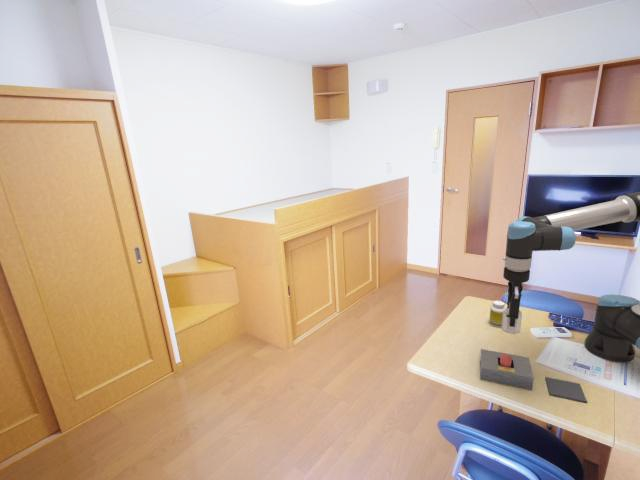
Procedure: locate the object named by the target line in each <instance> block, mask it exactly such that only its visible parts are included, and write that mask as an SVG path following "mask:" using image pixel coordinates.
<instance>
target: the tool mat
mask: <svg viewBox="0 0 640 480" xmlns="http://www.w3.org/2000/svg"><path fill="white" fill-rule="evenodd" d="M544 380H545V382H546V383H545V384H546V387H547V390H548V394H549V396H551V397H557V398H560V399H564V400H570V401H575V402H580V403H585V404H587V403H588V401H587V398H586V395H585V393H584V391H583V388H582V387H581V384H580V383H578V382H573V381H569V380H563V379H559V378H555V377H554V378H553V377H548V376H545V377H544Z"/></svg>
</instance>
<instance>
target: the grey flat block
mask: <svg viewBox="0 0 640 480" xmlns="http://www.w3.org/2000/svg"><path fill="white" fill-rule="evenodd" d="M502 354H507V355H509V356H511V357H512V363H511V368H510V367H505V366H500V357H501V355H502ZM479 362H480V364H479V365H480V366H479V367H480V369H479V372H480V375H479V377H480V380H482V381H486V382H491V383H495V384H500V385H505V386H509V387H515V388H519V389H524V390H527V391H533V386H534V385H533V384H534V378H535V377H534V373H533V369H532V364H531V359H530V357H527V356H523V355H522V356H521V355H516V354H511V353H506V352H500V351H494V350H489V349H484V348H481V349H480V360H479Z"/></svg>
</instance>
